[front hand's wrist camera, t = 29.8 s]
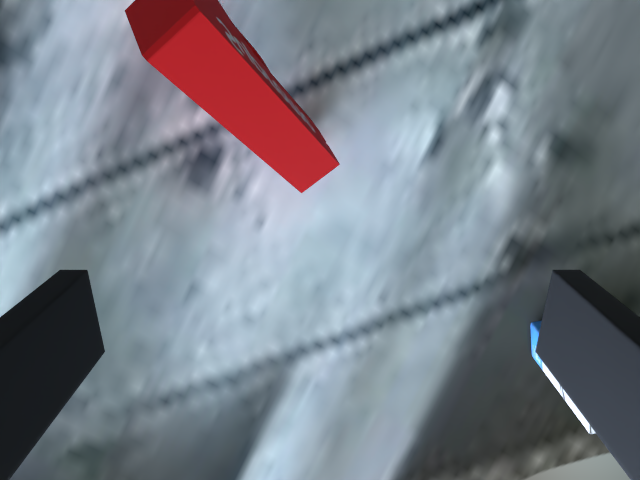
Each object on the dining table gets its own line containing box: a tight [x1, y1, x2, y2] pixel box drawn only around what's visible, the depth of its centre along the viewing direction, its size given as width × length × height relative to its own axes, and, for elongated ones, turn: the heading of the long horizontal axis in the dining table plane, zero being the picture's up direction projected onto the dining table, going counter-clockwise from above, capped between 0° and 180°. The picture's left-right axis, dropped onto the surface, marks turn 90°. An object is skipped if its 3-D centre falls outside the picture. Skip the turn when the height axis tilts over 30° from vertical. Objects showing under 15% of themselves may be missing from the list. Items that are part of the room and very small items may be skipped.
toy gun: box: [125, 0, 339, 193], centre depth 36 cm, size 18×4×15 cm
